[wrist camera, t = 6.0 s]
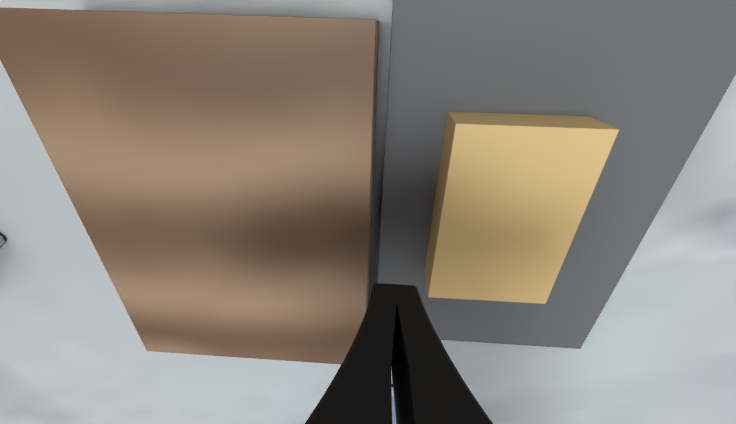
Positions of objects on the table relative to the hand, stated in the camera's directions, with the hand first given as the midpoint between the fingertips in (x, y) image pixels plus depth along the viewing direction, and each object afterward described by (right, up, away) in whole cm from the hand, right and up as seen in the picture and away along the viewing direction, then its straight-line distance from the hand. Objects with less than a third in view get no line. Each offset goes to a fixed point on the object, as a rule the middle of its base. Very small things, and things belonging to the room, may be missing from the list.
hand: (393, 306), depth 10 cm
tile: (+5, +2, +4) cm, 7 cm away
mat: (+7, +3, +6) cm, 9 cm away
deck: (-7, +4, +6) cm, 10 cm away
